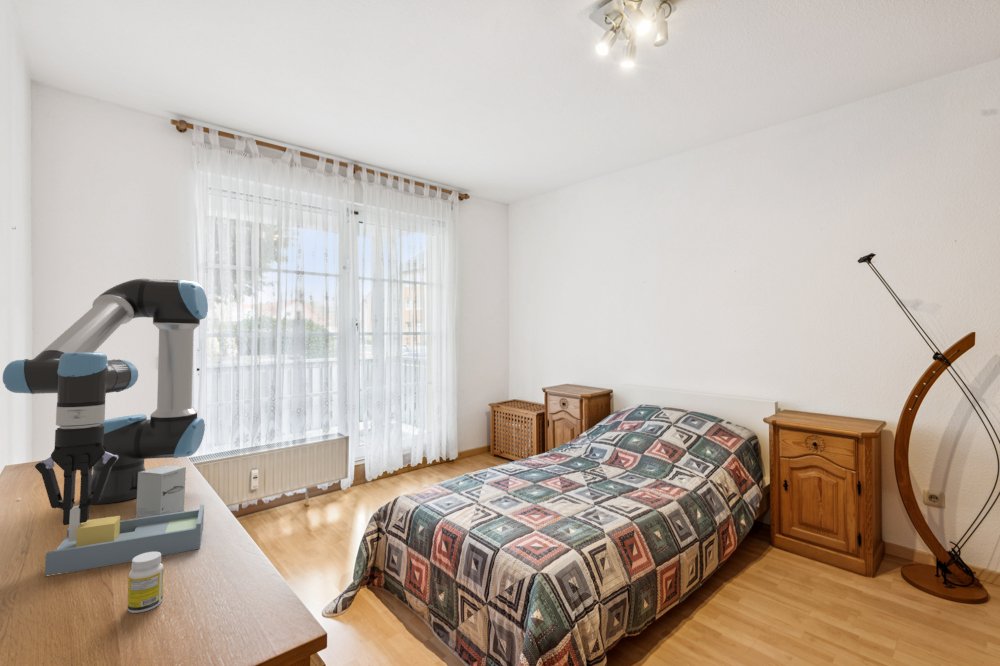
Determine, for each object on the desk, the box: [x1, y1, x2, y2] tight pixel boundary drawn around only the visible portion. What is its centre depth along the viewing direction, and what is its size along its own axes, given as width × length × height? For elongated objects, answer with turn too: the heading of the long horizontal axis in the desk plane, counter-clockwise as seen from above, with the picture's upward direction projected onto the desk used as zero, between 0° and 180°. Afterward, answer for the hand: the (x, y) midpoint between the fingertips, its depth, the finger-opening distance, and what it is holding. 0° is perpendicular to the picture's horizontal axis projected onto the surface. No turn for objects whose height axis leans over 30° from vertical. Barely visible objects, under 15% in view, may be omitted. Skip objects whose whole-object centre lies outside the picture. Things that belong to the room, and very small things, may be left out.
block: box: [76, 515, 121, 547], centre depth 95 cm, size 5×6×4 cm
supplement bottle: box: [127, 552, 164, 614], centre depth 77 cm, size 5×5×8 cm
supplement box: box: [135, 465, 187, 519], centre depth 116 cm, size 7×7×13 cm
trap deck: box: [44, 504, 205, 577], centre depth 98 cm, size 14×25×6 cm, turn 121°
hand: (75, 538), depth 93 cm, fingers closed
